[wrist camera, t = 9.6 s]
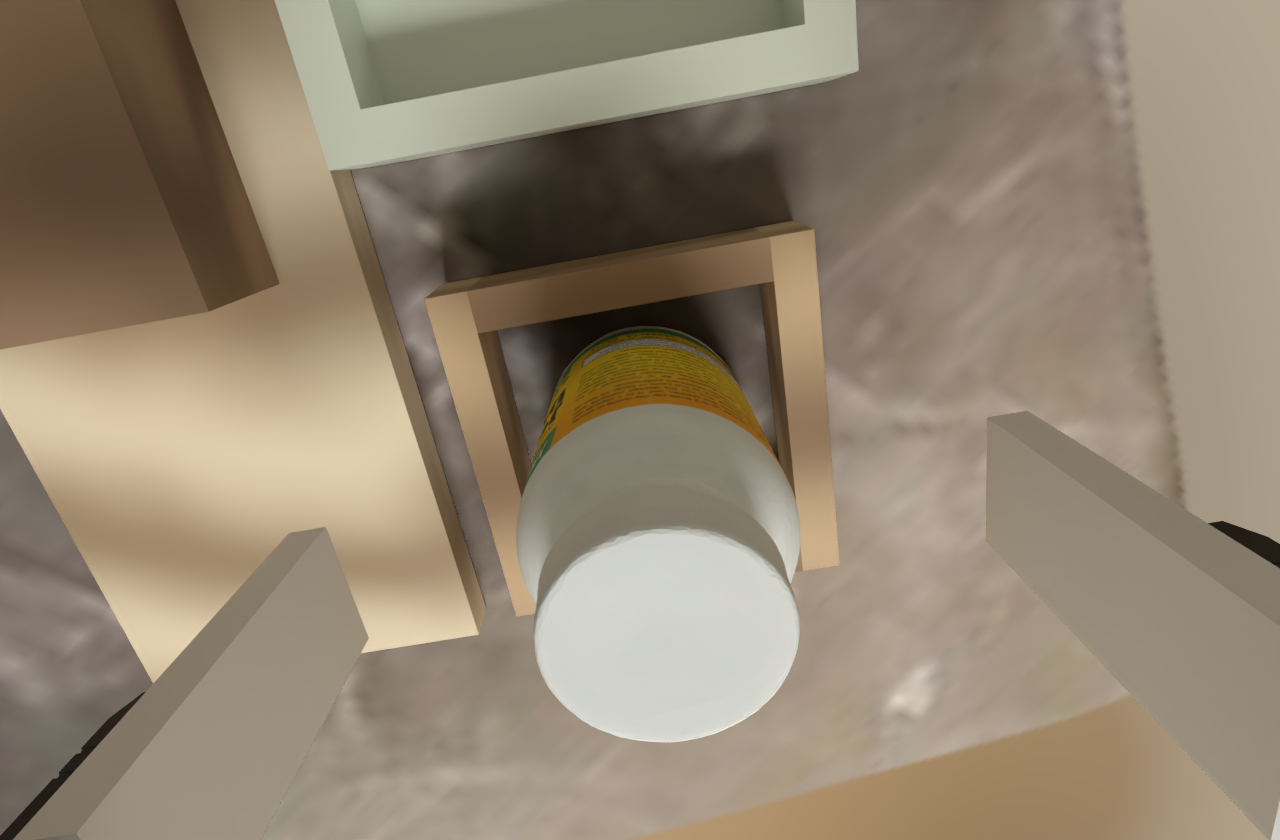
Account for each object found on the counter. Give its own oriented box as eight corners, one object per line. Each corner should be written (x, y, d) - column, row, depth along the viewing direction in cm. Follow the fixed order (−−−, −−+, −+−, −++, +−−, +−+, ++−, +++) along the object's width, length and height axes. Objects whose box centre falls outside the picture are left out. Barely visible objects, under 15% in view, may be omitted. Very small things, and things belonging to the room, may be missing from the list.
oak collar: (444, 283, 18) (423, 299, 16) (793, 220, 17) (813, 229, 15) (525, 574, 21) (516, 616, 19) (819, 527, 20) (839, 565, 19)
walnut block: (-101, 51, 14) (-275, 27, 12) (173, -4, 14) (63, -42, 11) (40, 327, 16) (-78, 363, 14) (279, 283, 16) (208, 311, 13)
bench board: (-317, -276, 13) (-857, -521, 8) (177, -386, 13) (-92, -712, 8) (178, 658, 22) (51, 804, 17) (486, 609, 21) (446, 744, 16)
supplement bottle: (743, 493, 20) (841, 770, 11) (560, 506, 20) (511, 792, 11) (741, 312, 18) (858, 472, 9) (538, 326, 18) (458, 499, 9)
